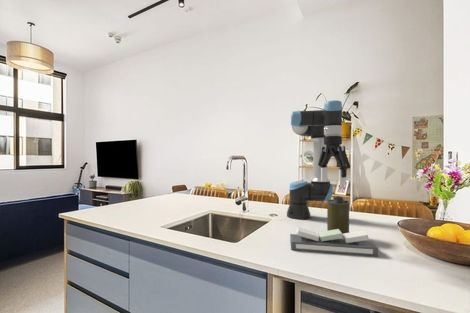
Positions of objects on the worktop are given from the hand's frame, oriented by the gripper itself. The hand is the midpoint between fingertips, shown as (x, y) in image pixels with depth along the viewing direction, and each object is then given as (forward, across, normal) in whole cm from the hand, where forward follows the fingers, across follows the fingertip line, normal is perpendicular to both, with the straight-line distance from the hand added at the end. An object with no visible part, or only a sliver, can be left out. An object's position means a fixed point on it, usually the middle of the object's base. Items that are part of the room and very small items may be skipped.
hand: (332, 183), depth 105 cm
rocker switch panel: (+28, +3, -3) cm, 28 cm away
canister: (+28, -10, +10) cm, 32 cm away
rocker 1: (+23, -1, -12) cm, 26 cm away
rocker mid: (+23, +3, -3) cm, 24 cm away
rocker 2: (+23, +7, +6) cm, 25 cm away
